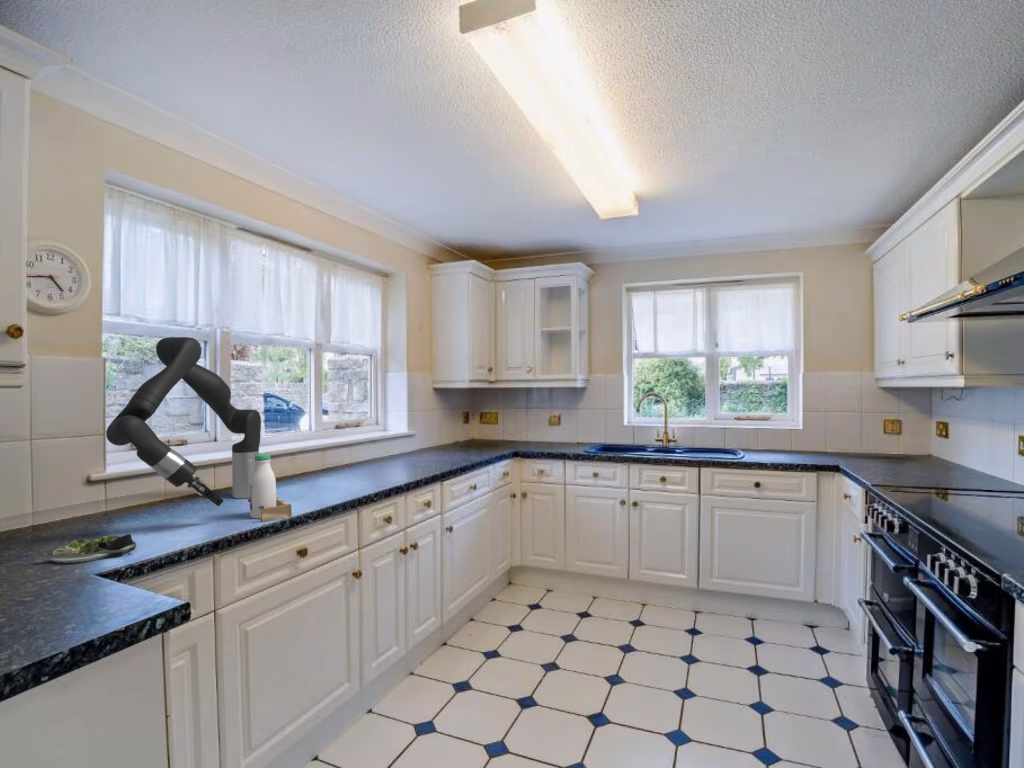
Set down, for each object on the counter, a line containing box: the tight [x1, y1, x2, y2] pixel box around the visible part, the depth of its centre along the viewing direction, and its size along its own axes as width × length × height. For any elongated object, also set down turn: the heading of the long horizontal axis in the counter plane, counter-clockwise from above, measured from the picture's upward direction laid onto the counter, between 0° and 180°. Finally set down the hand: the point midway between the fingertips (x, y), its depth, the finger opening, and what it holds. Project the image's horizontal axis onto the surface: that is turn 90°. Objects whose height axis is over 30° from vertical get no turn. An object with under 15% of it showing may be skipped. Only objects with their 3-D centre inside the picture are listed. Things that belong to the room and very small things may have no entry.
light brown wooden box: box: [247, 497, 292, 523], centre depth 174 cm, size 15×9×5 cm, turn 39°
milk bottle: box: [249, 453, 277, 519], centre depth 174 cm, size 8×8×20 cm
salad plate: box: [37, 533, 137, 564], centre depth 136 cm, size 19×18×5 cm
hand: (220, 503), depth 165 cm, fingers closed
